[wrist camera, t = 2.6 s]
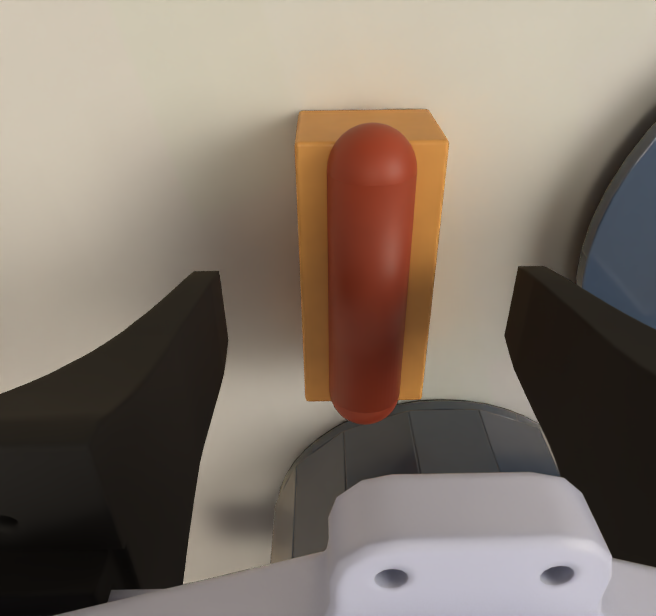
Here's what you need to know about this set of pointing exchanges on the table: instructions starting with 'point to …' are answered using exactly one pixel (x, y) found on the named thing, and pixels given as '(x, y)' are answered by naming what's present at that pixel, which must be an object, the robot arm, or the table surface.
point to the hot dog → (367, 253)
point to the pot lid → (625, 237)
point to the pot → (400, 460)
